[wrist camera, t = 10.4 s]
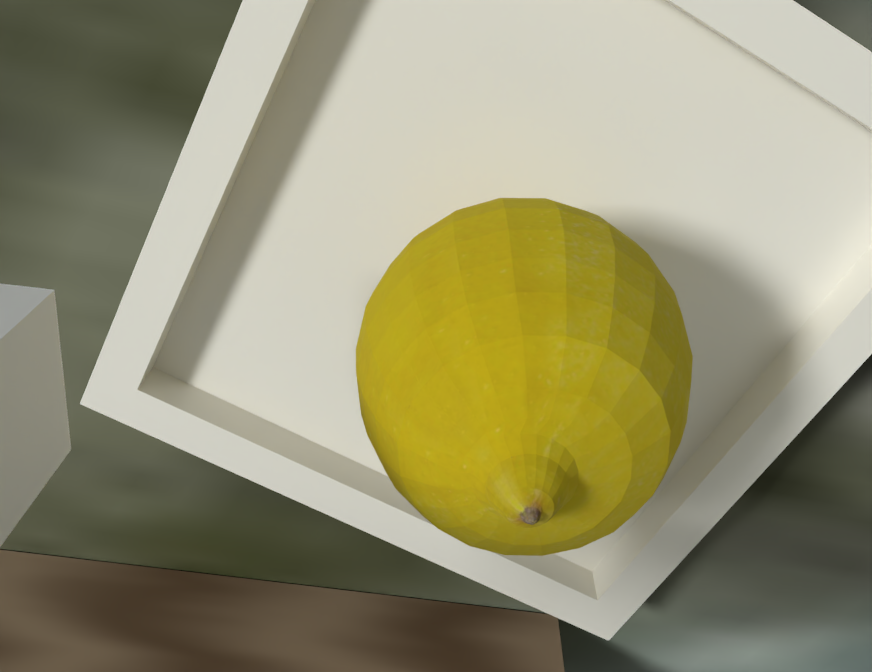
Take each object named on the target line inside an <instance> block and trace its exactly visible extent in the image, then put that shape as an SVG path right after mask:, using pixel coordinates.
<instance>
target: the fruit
mask: <svg viewBox="0 0 872 672" xmlns="http://www.w3.org/2000/svg"><path fill="white" fill-rule="evenodd" d="M692 362H693V355H692V352H691V348H690V344H689V340H688V336H687V332H686V328H685V324H684V320H683V316H682V313H681V310H680V307H679V304H678V301H677V298H676V295H675V292H674V290H673V289H672V287H671V286H670V285H669V283H668V282H667V280H666V279H665V277H664V276H663V274H662V273H661V272H660V270H659V269H658V267H657V266H656V264H655V263H654V261H653V260H652V259H651V257H650V256H649V254H648V253H647V252H646V251H645V250H644V249H642V248H641V247H640V246H639V245H638V244H637V243H636V242H635V241H633V240H632V239H630V238H629V237H628V236H626V235H625V234H623V233H622V232H621V231H619V230H618V229H617V228H615V227H614V226H612V225H611V224H610V223H608V222H607V221H606V220H604V219H603V218H601V217H600V216H598V215H596V214H593V213H591V212H588V211H585V210H582V209H579V208H575V207H572V206H569V205H566V204H563V203H559V202H556V201H553V200H550V199H546V198H498V199H494V200H491V201H487V202H484V203H480V204H477V205H473V206H470V207H466V208H462V209H459V210H456V211H454V212H453V213H451V214H450V215H448V216H446V217H445V218H443V219H442V220H440V221H438V222H437V223H435V224H434V225H432V226H430V227H429V228H427V229H426V230H424V231H422V232H421V233H419V234H418V235H417V236H415V237H414V238H413V239H412V240H411V241H410V242H409V243H408V245H407V246H406V247H405V248H404V249H403V250H402V252H401V253H400V254H399V255H398V256H397V257H396V258H395V260H394V261H393V262H392V263H391V264H390V266H389V267H388V269H387V271H386V272H385V274H384V275H383V277H382V279H381V280H380V282H379V283H378V285H377V286H376V288H375V290H374V291H373V293H372V295H371V297H370V299H369V301H368V303H367V305H366V307H365V311H364V315H363V320H362V324H361V328H360V333H359V337H358V342H357V346H356V377H357V385H358V393H359V402H360V410H361V416H362V419H363V423H364V426H365V429H366V433H367V436H368V438H369V440H370V442H371V444H372V446H373V448H374V450H375V452H376V454H377V456H378V458H379V460H380V462H381V464H382V466H383V468H384V470H385V472H386V473H387V475H388V477H389V478H390V480H391V482H392V483H393V485H394V487H395V489H396V490H397V491H398V492H399V493H400V494H401V495H402V496H403V497H404V498H405V499H406V500H407V501H408V502H409V503H410V504H411V505H412V506H413V507H414V508H415V509H416V510H417V511H418V512H419V513H420V514H421V515H422V516H423V517H425V518H426V519H427V520H428V521H429V522H431V523H432V524H433V525H434V526H435V527H437V528H438V529H439V530H441V531H443V532H445V533H447V534H448V535H450V536H452V537H454V538H456V539H457V540H459V541H461V542H463V543H465V544H467V545H468V546H471V547H475V548H479V549H483V550H487V551H491V552H495V553H499V554H503V555H526V556H544V555H549V554H554V553H559V552H563V551H568V550H573V549H578V548H581V547H583V546H585V545H587V544H590V543H592V542H594V541H596V540H598V539H600V538H602V537H605V536H607V535H609V534H611V533H613V532H615V531H616V530H617V529H618V528H619V527H620V526H622V525H623V524H624V523H625V522H626V521H627V520H629V519H630V518H631V517H632V516H633V515H634V514H635V513H636V512H637V511H638V510H639V509H640V508H641V507H642V506H643V505H644V504H645V503H646V502H647V501H648V500H649V499H650V498H651V497H652V496H653V494H654V493H655V491H656V490H657V488H658V486H659V485H660V483H661V481H662V480H663V478H664V476H665V474H666V472H667V470H668V468H669V466H670V464H671V462H672V460H673V458H674V455H675V453H676V451H677V449H678V447H679V445H680V443H681V440H682V436H683V433H684V429H685V426H686V423H687V416H688V407H689V398H690V389H691V379H692Z"/></svg>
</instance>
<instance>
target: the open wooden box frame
mask: <svg viewBox="0 0 872 672" xmlns="http://www.w3.org/2000/svg"><path fill="white" fill-rule="evenodd" d="M0 672H565V671H564V663H563V655H562V647H561V639H560V631H559V623H558V618H556V617H554V616H552V615H550V614H543V613H534V612H526V611H517V610H509V609H500V608H492V607H483V606H475V605H466V604H458V603H449V602H441V601H432V600H424V599H415V598H407V597H398V596H390V595H381V594H373V593H364V592H356V591H347V590H339V589H330V588H322V587H313V586H305V585H296V584H288V583H279V582H271V581H262V580H254V579H245V578H237V577H228V576H220V575H211V574H203V573H194V572H186V571H177V570H169V569H160V568H152V567H143V566H135V565H126V564H118V563H109V562H101V561H92V560H84V559H75V558H67V557H58V556H50V555H41V554H33V553H24V552H16V551H7V550H0Z"/></svg>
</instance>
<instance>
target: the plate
mask: <svg viewBox="0 0 872 672" xmlns="http://www.w3.org/2000/svg"><path fill="white" fill-rule="evenodd" d="M498 198H546V199H550V200H553V201H556V202H559V203H563V204H566V205H569V206H572V207H575V208H579V209H582V210H585V211H588V212H591V213H593V214H596V215H598V216H600V217H601V218H603V219H604V220H606V221H607V222H608V223H610V224H611V225H612V226H614V227H615V228H617V229H618V230H619V231H621V232H622V233H623V234H625V235H626V236H628V237H629V238H630V239H632V240H633V241H635V242H636V243H637V244H638V245H639V246H640V247H641V248H642V249H644V250H645V251H646V252H647V253H648V254H649V256H650V257H651V259H652V260H653V261H654V263H655V264H656V266H657V267H658V269H659V270H660V272H661V273H662V274H663V276H664V277H665V279H666V280H667V282H668V283H669V285H670V286H671V287H672V289H673V290H674V292H675V295H676V298H677V301H678V304H679V307H680V310H681V313H682V316H683V320H684V324H685V328H686V332H687V336H688V340H689V344H690V348H691V352H692V355H693V362H692V379H691V389H690V398H689V407H688V416H687V423H686V426H685V429H684V433H683V436H682V440H681V443H680V445H679V447H678V449H677V451H676V453H675V455H674V458H673V460H672V462H671V464H670V466H669V468H668V470H667V472H666V474H665V476H664V478H663V480H662V481H661V483H660V485H659V486H658V488H657V490H656V491H655V493H654V494H653V496H652V497H651V498H650V499H649V500H648V501H647V502H646V503H645V504H644V505H643V506H642V507H641V508H640V509H639V510H638V511H637V512H636V513H635V514H634V515H633V516H632V517H631V518H630V519H629V520H627V521H626V522H625V523H624V524H623V525H622V526H620V527H619V528H618V529H617V530H616V531H615V532H613V533H611V534H609V535H607V536H605V537H602V538H600V539H598V540H596V541H594V542H592V543H590V544H587V545H585V546H583V547H581V548H578V549H573V550H568V551H563V552H559V553H554V554H549V555H544V556H526V555H503V554H499V553H495V552H491V551H487V550H483V549H479V548H475V547H471V546H468V545H467V544H465V543H463V542H461V541H459V540H457V539H456V538H454V537H452V536H450V535H448V534H447V533H445V532H443V531H441V530H439V529H438V528H437V527H435V526H434V525H433V524H432V523H431V522H429V521H428V520H427V519H426V518H425V517H423V516H422V515H421V514H420V513H419V512H418V511H417V510H416V509H415V508H414V507H413V506H412V505H411V504H410V503H409V502H408V501H407V500H406V499H405V498H404V497H403V496H402V495H401V494H400V493H399V492H398V491H397V490H396V489H395V487H394V485H393V483H392V482H391V480H390V478H389V477H388V475H387V473H386V472H385V470H384V468H383V466H382V464H381V462H380V460H379V458H378V456H377V454H376V452H375V450H374V448H373V446H372V444H371V442H370V440H369V438H368V436H367V433H366V429H365V426H364V423H363V419H362V416H361V410H360V402H359V393H358V385H357V377H356V346H357V342H358V337H359V333H360V328H361V324H362V320H363V315H364V311H365V307H366V305H367V303H368V301H369V299H370V297H371V295H372V293H373V291H374V290H375V288H376V286H377V285H378V283H379V282H380V280H381V279H382V277H383V275H384V274H385V272H386V271H387V269H388V267H389V266H390V264H391V263H392V262H393V261H394V260H395V258H396V257H397V256H398V255H399V254H400V253H401V252H402V250H403V249H404V248H405V247H406V246H407V245H408V243H409V242H410V241H411V240H412V239H413V238H414V237H415V236H417V235H418V234H419V233H421V232H422V231H424V230H426V229H427V228H429V227H430V226H432V225H434V224H435V223H437V222H438V221H440V220H442V219H443V218H445V217H446V216H448V215H450V214H451V213H453V212H454V211H456V210H459V209H462V208H466V207H470V206H473V205H477V204H480V203H484V202H487V201H491V200H494V199H498ZM871 354H872V52H871V51H869V50H868V49H866V48H865V47H863V46H862V45H860V44H859V43H857V42H856V41H854V40H853V39H851V38H850V37H848V36H847V35H845V34H843V33H842V32H840V31H839V30H837V29H836V28H834V27H833V26H831V25H830V24H828V23H827V22H825V21H824V20H822V19H821V18H819V17H818V16H816V15H815V14H813V13H811V12H810V11H808V10H807V9H805V8H804V7H802V6H801V5H799V4H798V3H796V2H795V1H793V0H243V1H242V3H241V6H240V8H239V11H238V13H237V16H236V18H235V21H234V23H233V26H232V28H231V31H230V33H229V36H228V38H227V41H226V43H225V46H224V48H223V51H222V53H221V55H220V58H219V60H218V63H217V65H216V68H215V70H214V73H213V75H212V78H211V80H210V83H209V85H208V88H207V90H206V93H205V95H204V98H203V100H202V103H201V105H200V107H199V110H198V112H197V115H196V117H195V120H194V122H193V125H192V127H191V130H190V132H189V135H188V137H187V140H186V142H185V145H184V147H183V150H182V152H181V155H180V157H179V159H178V162H177V164H176V167H175V169H174V172H173V174H172V177H171V179H170V182H169V184H168V187H167V189H166V192H165V194H164V197H163V199H162V202H161V204H160V207H159V209H158V211H157V214H156V216H155V219H154V221H153V224H152V226H151V229H150V231H149V234H148V236H147V239H146V241H145V244H144V246H143V249H142V251H141V254H140V256H139V259H138V261H137V263H136V266H135V268H134V271H133V273H132V276H131V278H130V281H129V283H128V286H127V288H126V291H125V293H124V296H123V298H122V301H121V303H120V306H119V308H118V311H117V313H116V315H115V318H114V320H113V323H112V325H111V328H110V330H109V333H108V335H107V338H106V340H105V343H104V345H103V348H102V350H101V353H100V355H99V358H98V360H97V363H96V365H95V367H94V370H93V372H92V375H91V377H90V380H89V382H88V385H87V387H86V390H85V392H84V395H83V397H82V400H81V402H80V404H81V405H84V406H86V407H88V408H90V409H92V410H95V411H97V412H99V413H101V414H104V415H106V416H108V417H110V418H113V419H115V420H117V421H119V422H121V423H124V424H126V425H128V426H130V427H133V428H135V429H137V430H139V431H142V432H144V433H146V434H148V435H150V436H153V437H155V438H157V439H159V440H162V441H164V442H166V443H168V444H171V445H173V446H175V447H177V448H179V449H182V450H184V451H186V452H188V453H191V454H193V455H195V456H197V457H200V458H202V459H204V460H206V461H208V462H211V463H213V464H215V465H217V466H220V467H222V468H224V469H226V470H229V471H231V472H233V473H235V474H237V475H240V476H242V477H244V478H246V479H249V480H251V481H253V482H255V483H258V484H260V485H262V486H264V487H266V488H269V489H271V490H273V491H275V492H278V493H280V494H282V495H284V496H287V497H289V498H291V499H293V500H295V501H298V502H300V503H302V504H304V505H307V506H309V507H311V508H313V509H316V510H318V511H320V512H322V513H324V514H327V515H329V516H331V517H333V518H336V519H338V520H340V521H342V522H345V523H347V524H349V525H351V526H353V527H356V528H358V529H360V530H362V531H365V532H367V533H369V534H371V535H374V536H376V537H378V538H380V539H382V540H385V541H387V542H389V543H391V544H394V545H396V546H398V547H400V548H403V549H405V550H407V551H409V552H411V553H414V554H416V555H418V556H420V557H423V558H425V559H427V560H429V561H432V562H434V563H436V564H438V565H440V566H443V567H445V568H447V569H449V570H452V571H454V572H456V573H458V574H461V575H463V576H465V577H467V578H469V579H472V580H474V581H476V582H478V583H481V584H483V585H485V586H487V587H490V588H492V589H494V590H496V591H498V592H501V593H503V594H505V595H507V596H510V597H512V598H514V599H516V600H519V601H521V602H523V603H525V604H527V605H530V606H532V607H534V608H536V609H539V610H541V611H543V612H545V613H548V614H550V615H552V616H554V617H556V618H559V619H561V620H563V621H565V622H568V623H570V624H572V625H574V626H577V627H579V628H581V629H583V630H585V631H588V632H590V633H592V634H594V635H597V636H599V637H601V638H603V639H606V640H608V641H609V640H610V639H611V638H612V636H613V635H614V634H615V633H616V632H617V631H618V630H619V629H620V628H621V627H622V626H623V624H624V623H625V622H626V621H627V620H628V619H629V618H630V617H631V616H632V615H633V614H634V612H635V611H636V610H637V609H638V608H639V607H640V606H641V605H642V604H643V603H644V602H645V600H646V599H647V598H648V597H649V596H650V595H651V594H652V593H653V592H654V591H655V590H656V588H657V587H658V586H659V585H660V584H661V583H662V582H663V581H664V580H665V579H666V578H667V576H668V575H669V574H670V573H671V572H672V571H673V570H674V569H675V568H676V567H677V566H678V565H679V563H680V562H681V561H682V560H683V559H684V558H685V557H686V556H687V555H688V554H689V553H690V551H691V550H692V549H693V548H694V547H695V546H696V545H697V544H698V543H699V542H700V541H701V539H702V538H703V537H704V536H705V535H706V534H707V533H708V532H709V531H710V530H711V529H712V527H713V526H714V525H715V524H716V523H717V522H718V521H719V520H720V519H721V518H722V517H723V515H724V514H725V513H726V512H727V511H728V510H729V509H730V508H731V507H732V506H733V505H734V503H735V502H736V501H737V500H738V499H739V498H740V497H741V496H742V495H743V494H744V493H745V491H746V490H747V489H748V488H749V487H750V486H751V485H752V484H753V483H754V482H755V481H756V479H757V478H758V477H759V476H760V475H761V474H762V473H763V472H764V471H765V470H766V469H767V467H768V466H769V465H770V464H771V463H772V462H773V461H774V460H775V459H776V458H777V457H778V455H779V454H780V453H781V452H782V451H783V450H784V449H785V448H786V447H787V446H788V445H789V443H790V442H791V441H792V440H793V439H794V438H795V437H796V436H797V435H798V434H799V433H800V431H801V430H802V429H803V428H804V427H805V426H806V425H807V424H808V423H809V422H810V421H811V419H812V418H813V417H814V416H815V415H816V414H817V413H818V412H819V411H820V410H821V409H822V407H823V406H824V405H825V404H826V403H827V402H828V401H829V400H830V399H831V398H832V397H833V395H834V394H835V393H836V392H837V391H838V390H839V389H840V388H841V387H842V386H843V385H844V384H845V382H846V381H847V380H848V379H849V378H850V377H851V376H852V375H853V374H854V373H855V372H856V370H857V369H858V368H859V367H860V366H861V365H862V364H863V363H864V362H865V361H866V360H867V358H868V357H869V356H870V355H871Z"/></svg>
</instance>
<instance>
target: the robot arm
mask: <svg viewBox="0 0 872 672" xmlns="http://www.w3.org/2000/svg"><path fill="white" fill-rule="evenodd" d="M70 450H71V442H70V432H69V423H68V413H67V404H66V394H65V385H64V375H63V366H62V356H61V347H60V337H59V328H58V318H57V309H56V299H55V290H52V289H43V288H34V287H25V286H17V285H8V284H0V547H1V545H2V544H3V543H4V541H5V540H6V538H7V537H8V536H9V534H10V533H11V532H12V530H13V529H14V527H15V526H16V525H17V523H18V522H19V521H20V519H21V518H22V516H23V515H24V514H25V512H26V511H27V510H28V508H29V507H30V505H31V504H32V503H33V501H34V500H35V499H36V497H37V496H38V494H39V493H40V492H41V490H42V489H43V488H44V486H45V485H46V483H47V482H48V481H49V479H50V478H51V477H52V475H53V474H54V472H55V471H56V470H57V468H58V467H59V465H60V464H61V463H62V461H63V460H64V459H65V457H66V456H67V454H68V453H69V452H70Z"/></svg>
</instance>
